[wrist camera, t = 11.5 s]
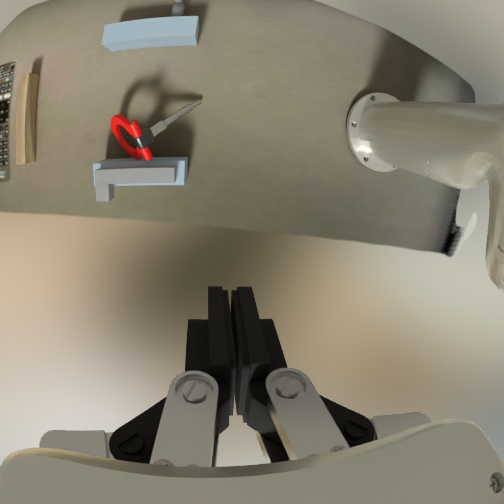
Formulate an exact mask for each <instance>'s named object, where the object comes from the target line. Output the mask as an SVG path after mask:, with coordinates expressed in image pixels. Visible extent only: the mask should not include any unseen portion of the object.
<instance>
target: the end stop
mask: <svg viewBox="0 0 504 504" xmlns="http://www.w3.org/2000/svg"><path fill="white" fill-rule="evenodd" d="M38 81H39V74H33V73H27V74H24V75H22V76H20V79H19V87H18V97H17V111H16V164H17V165H21V164H26V163H29V162H32V161H36V154H35V122H36V102H37V91H38Z"/></svg>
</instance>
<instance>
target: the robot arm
mask: <svg viewBox="0 0 504 504" xmlns="http://www.w3.org/2000/svg"><path fill="white" fill-rule="evenodd" d="M352 124H353V125H352ZM346 127H347V138H348V142H349V145H350V148H351V150H352V152H353V154H354V155H355V157H356V158H357V159H358V160H359V161H360V162H361V163H362V164H363V165H364V166H366V167H368V168H370V169H372V170H375V171H380V172H389V171H393V170H395V169H397V168H401V169H404V170H407V171H410V172H413V173H416V174H419V175H422V176H425V177H427V178H430V179H433V180H435V181H438V182H440V183H443V184H446V185H448V186H451V187H454V188H457V189H470V188H473V187H476V186H478V185H480V184H481V183H483V182H484V181H486V180H487V179H488V181H489V200H490V210H489V225H488V235H487V245H486V268H487V272H488V275H489V277H490V279H491V280H492V282H493V283H494V284H495V285H496V286H497V287H498V288H499V289H500V290H501V291H503V292H504V103H502V104H471V103H454V102H425V101H402V102H400V101H399V100H398V99H397V98H395V97H394V96H391V95H389V94H386V93H370V94H367V95H364V96H363V97H361V98H360V99H358V100H357V101H356V102H355V104H354V105H353V106H352V108H351V110H350V112H349V115H348V119H347V125H346ZM185 362H186V363H185V372H183V373H181V374H179V375H177V376H176V377H175V378H174V379H173V380H172V382H171V384H170V387H169V391H168V394H167V397H165V398H164V399H162V400H161V401H160V402H158V403H157V404H155V405H154V406H152V407H151V408H149V409H148V410H146V411H145V412H143V413H142V414H140V415H138V416H137V417H135V418H134V419H132V420H131V421H129V422H128V423H126V424H124V425H123V426H121V427H120V428H118V429H117V430H116V431H115V432H113V433H105V431H103V430H101V431H65V430H52V431H48V432H47V433H45V434H44V435H43V437H42V438H41V441H40V448H28V449H22V450H18V451H15V452H13V453H11V454H9V455H8V456H7V457H6V458H5V460H4V461H3V463H2V465H1V466H0V504H504V463H503V462H502V460H501V458H500V456H499V454H498V453H497V451H496V449H495V448H494V446H493V445H492V443H491V442H490V440H489V439H488V437H487V436H486V435H485V433H484V432H483V431H482V430H481V429H480V428H479V426H477V425H476V424H475V423H473V422H471V421H469V420H464V419H442V420H437V421H432V422H431V421H430V418H429V417H427V416H426V415H425V414H422V413H420V412H413V413H404V414H394V415H383V416H373V417H372V419H368V418H366V417H365V416H363V415H361V414H358V413H356V412H354V411H352V410H350V409H347V408H346V407H343V406H341V405H339V404H337V403H335V402H333V401H331V400H329V399H327V398H324V397H323V396H321V395H319V394H318V392H317V391H316V389H315V387H314V385H313V384H312V382H311V381H310V379H309V378H308V376H307V375H306V374H304V373H303V372H301V371H300V370H297V369H294V368H288V367H287V364H286V361H285V358H284V355H283V351H282V348H281V345H280V341H279V338H278V335H277V332H276V329H275V325H274V322H273V320H272V319H259V315H258V311H257V307H256V303H255V299H254V295H253V291H252V287H237V290H232V294H231V312H230V306H229V298H228V290H222V287H221V286H209V287H208V320H200V319H198V320H197V319H189V320H188V330H187V344H186V361H185ZM234 394H235V402H236V410H237V415H243V422H244V423H245V422H247V425H248V426H250V427H251V428H253V429H254V430H256V436H257V439H258V441H259V444H260V447H261V449H262V452H263V454H264V457H265V460H266V462H267V464H259V465H248V466H232V467H231V466H230V467H216V462H217V453H218V443H219V434H220V433H222V432H223V431H224V430H225V429H226V428H227V427H228V426H229V415H233V406H234V405H233V404H234Z"/></svg>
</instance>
